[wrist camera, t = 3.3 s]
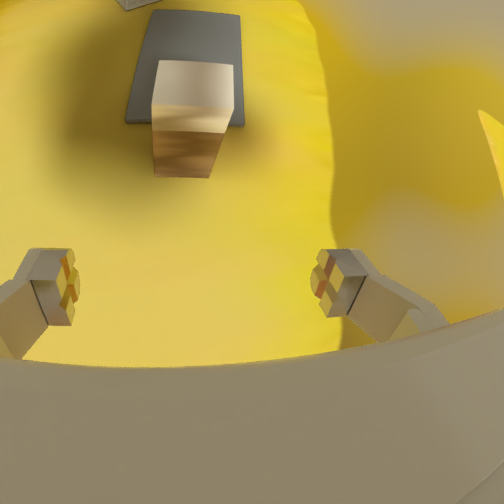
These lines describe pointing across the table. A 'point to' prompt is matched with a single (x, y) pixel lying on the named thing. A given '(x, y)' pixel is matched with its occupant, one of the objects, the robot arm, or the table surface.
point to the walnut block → (190, 116)
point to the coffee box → (134, 3)
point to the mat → (186, 54)
